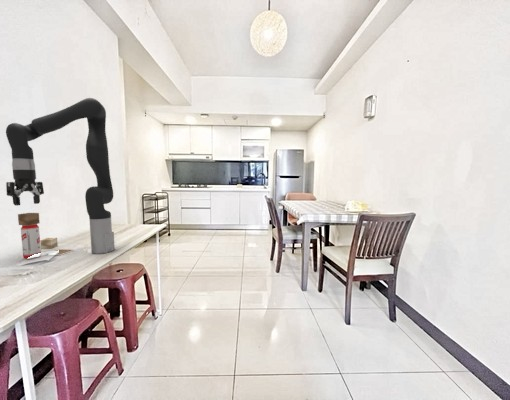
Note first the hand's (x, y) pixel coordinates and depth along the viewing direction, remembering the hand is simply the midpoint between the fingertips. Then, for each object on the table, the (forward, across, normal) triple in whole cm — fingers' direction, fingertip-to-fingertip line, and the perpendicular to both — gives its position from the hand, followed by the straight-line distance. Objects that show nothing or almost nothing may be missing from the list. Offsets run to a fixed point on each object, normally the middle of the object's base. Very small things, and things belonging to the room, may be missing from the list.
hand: (27, 204), depth 110 cm
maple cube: (+25, +16, +8) cm, 31 cm away
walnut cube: (+9, 0, 0) cm, 9 cm away
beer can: (+26, 0, 0) cm, 26 cm away
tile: (+25, +8, -6) cm, 27 cm away
